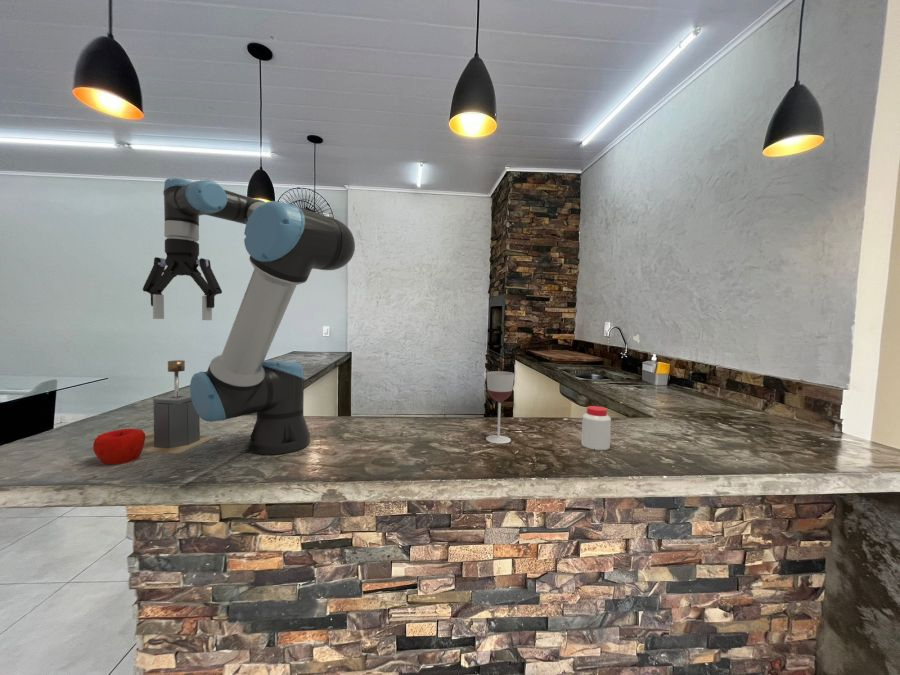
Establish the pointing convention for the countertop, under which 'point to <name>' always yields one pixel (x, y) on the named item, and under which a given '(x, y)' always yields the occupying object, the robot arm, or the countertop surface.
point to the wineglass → (499, 396)
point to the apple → (119, 446)
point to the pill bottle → (596, 428)
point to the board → (150, 448)
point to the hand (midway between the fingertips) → (182, 319)
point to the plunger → (176, 373)
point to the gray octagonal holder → (175, 421)
